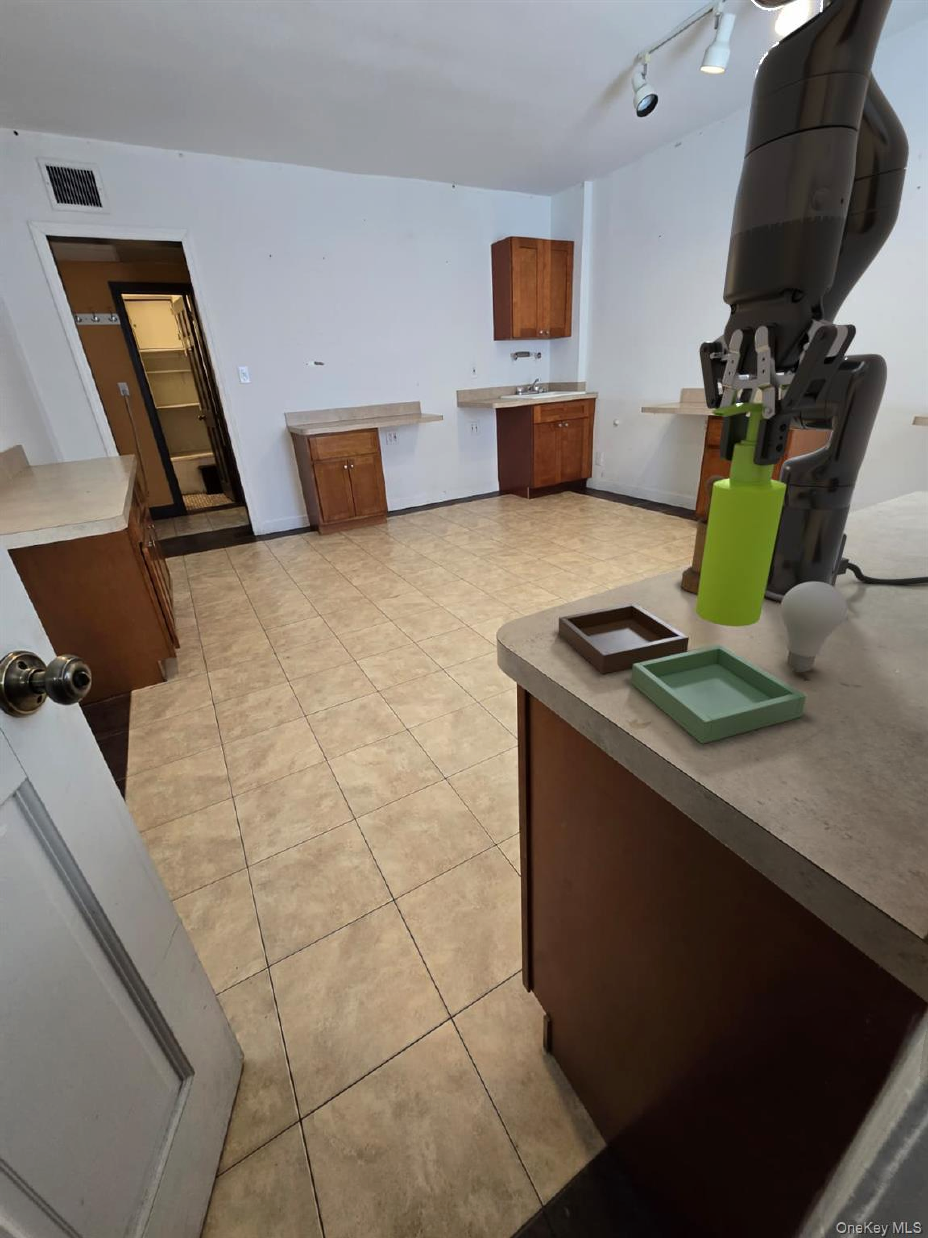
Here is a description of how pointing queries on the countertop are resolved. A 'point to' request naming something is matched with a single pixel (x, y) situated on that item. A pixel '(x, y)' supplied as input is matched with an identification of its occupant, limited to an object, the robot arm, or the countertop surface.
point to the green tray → (716, 693)
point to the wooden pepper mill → (699, 544)
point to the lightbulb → (810, 620)
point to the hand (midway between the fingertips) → (748, 460)
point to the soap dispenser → (740, 532)
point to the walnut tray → (621, 637)
